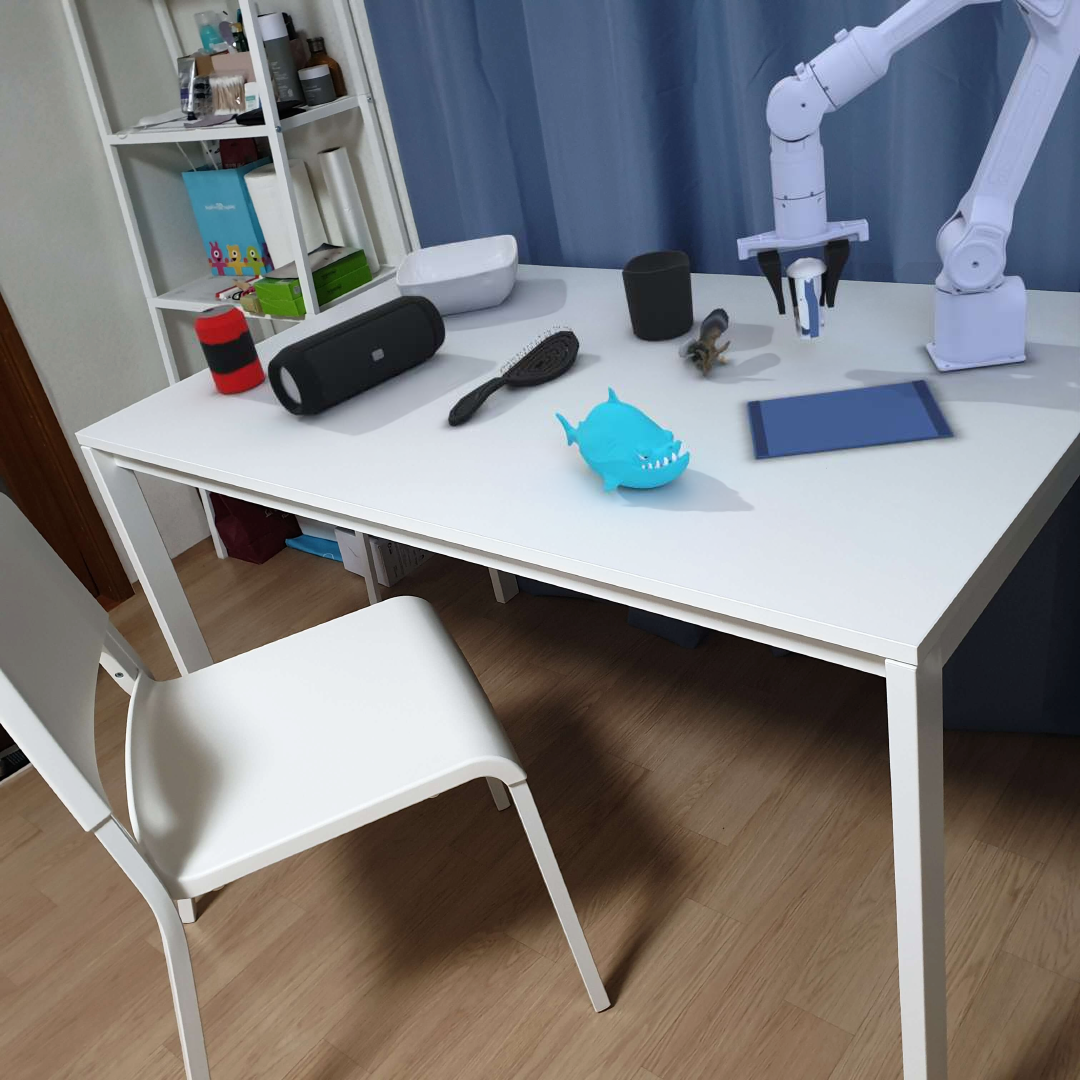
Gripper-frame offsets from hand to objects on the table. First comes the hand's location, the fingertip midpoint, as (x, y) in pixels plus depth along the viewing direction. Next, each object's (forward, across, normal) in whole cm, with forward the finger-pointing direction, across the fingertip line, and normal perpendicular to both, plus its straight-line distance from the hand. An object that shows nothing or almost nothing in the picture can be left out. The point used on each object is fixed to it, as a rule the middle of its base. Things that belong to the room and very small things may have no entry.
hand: (806, 308), depth 124 cm
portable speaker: (+8, +61, -15) cm, 63 cm away
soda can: (+8, +84, -23) cm, 88 cm away
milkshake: (+4, 0, 0) cm, 4 cm away
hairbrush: (+8, +38, -7) cm, 40 cm away
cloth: (+8, -2, +15) cm, 17 cm away
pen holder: (+8, +18, -21) cm, 29 cm away
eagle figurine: (+8, +12, -6) cm, 16 cm away
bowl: (+8, +52, -49) cm, 72 cm away
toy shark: (+8, +22, +23) cm, 33 cm away
